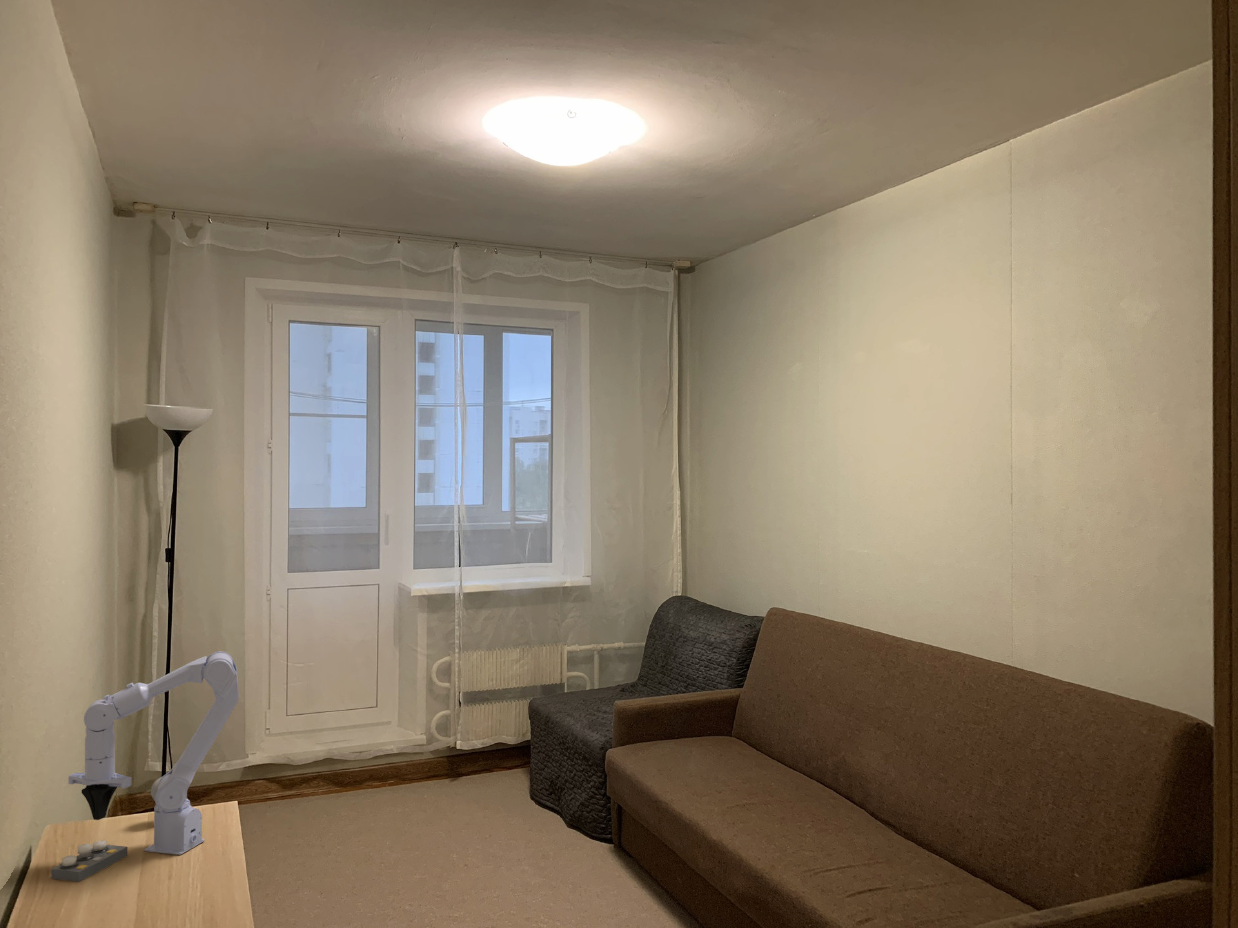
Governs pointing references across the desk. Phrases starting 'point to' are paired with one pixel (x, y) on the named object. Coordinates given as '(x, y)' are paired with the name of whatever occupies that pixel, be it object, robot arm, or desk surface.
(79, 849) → the button middle
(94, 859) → the switch panel
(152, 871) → the desk surface
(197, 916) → the desk surface
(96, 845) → the button right
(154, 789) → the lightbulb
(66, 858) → the button left
